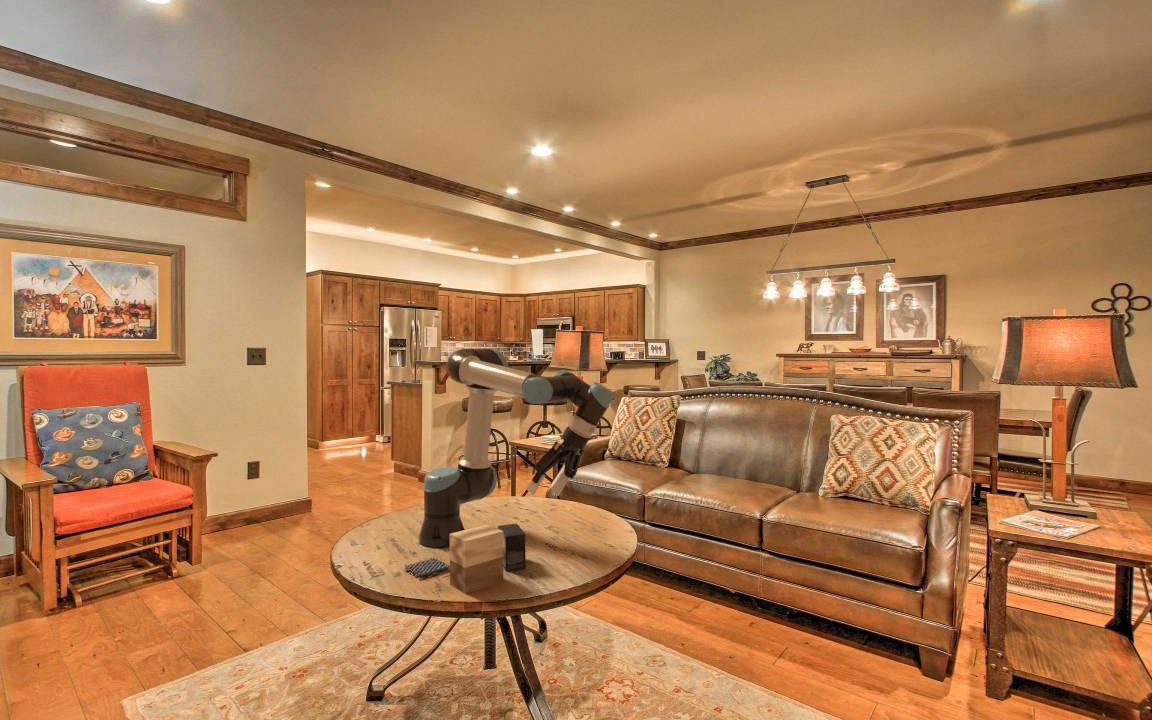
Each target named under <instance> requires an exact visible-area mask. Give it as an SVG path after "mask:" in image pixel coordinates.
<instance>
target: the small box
mask: <svg viewBox="0 0 1152 720" xmlns="http://www.w3.org/2000/svg"><path fill="white" fill-rule="evenodd" d="M497 529H499V530H501V531H503V570H505V572H512V571H517V570H525V569H526V568H527V562H526V561H527V559H526V557H527V555H526V535H527V533H525V531H524V530H523V529H522V528H521V527H520V525H519V524H518V523H511V524H502V525H497Z"/></svg>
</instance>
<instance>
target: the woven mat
mask: <svg viewBox="0 0 1152 720" xmlns="http://www.w3.org/2000/svg"><path fill="white" fill-rule="evenodd" d="M404 570H406V571H409V573H408V574H409V575H412V574H413V575H415V576H413V575H412V576H413V577H414V578H418V579H419V581H422V580H425V578H426V579H428V577H429V578H432V577H435V576H438V575H437V574H439V575H442V574H445V573H448V572H450V564H447V563H446V562H444V561H442V560H440V559H438V558H436V557H433V558H432V557H431V558H428V559H425V560H420V561H418V562H417V561H416V562H414V563H410V564H408V565H407V564H405V567H404ZM406 571H405V572H406ZM411 573H412V574H411ZM441 573H442V574H441ZM433 575H434V576H433ZM431 576H432V577H431ZM418 579H417V580H418ZM421 579H422V580H421Z"/></svg>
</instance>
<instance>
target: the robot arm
mask: <svg viewBox="0 0 1152 720" xmlns="http://www.w3.org/2000/svg"><path fill="white" fill-rule="evenodd" d="M446 372H447V374H448V376H449V377H450V379H451V380H453V381H454V382H456V383H459V384H462V385H465V387H466V389H468V390H469V394H468V406H467V415H466V426H465V427H466V428H465V435H464V436H465V438H464V447H463V457H462V458H461V459H459V460H458V465H457V467H455V466H445V467H439V468H436V469H435V468H434V469H432V470H431V471H429V472H428V473H426V474H425V476H424V480H423V481H424V482H423V483H424V484H423V498H424V501H423V503H424V504H423V505H424V506H423V507H424V508H423V512H424V514H423V516H424V517H423V518H424V519H423V521H422V523H421V527H420V530H419V534H418V543H419V544H420V545H422V546H426V547H429V548H431V547H432V548H445V547H450V534H451V533H455V532H459V531H463V530H465V527H464V523H463V522H462V521H463V520H462V518H461V509H460V508H461V505H462V504H466V503H470V502H473V501H478V500H482V499H484V498H487V497H489V496H490V495H492V493H493V492H494V490H495V488H496V487H497V483H498V482H497V480H498V479H497V474H496V470H495V468H494V467H493V466H492V462H491V460H489V449H490V439H491V431H492V430H491V429H492V421H493V410H494V399H495V394H496V392H497V391H499V392H503V393H506V394H509V395H513V396H517V397H520V398H523V399H524V400H525V401H526V402H527V403H529V404H532V405H544V404H550V403H559V402H566V401H568V402H570V403H571V404H572V405H573V406H576V407H577V409H576V411H575V413H574V415H573V416H572V418H571V419H570V421H569V423H568V426H567V427H566V428H565V430H564V432H563V433H562V435H561V439H562V440H563V441H562V442H561V443H560V442H558V441H555V442H554V444H553V445H552V446H551V448H550V449H549V450H548V451H547V452H546V453H545V454H544V455H543V456H542V457H541V459H539V460H538V461H537V463H536V464H535V465H534V467H533V468H534V470H535V471H536V472H535V473H534V475H533V477H532V479H530V482H529V483H528V486H527V488H526V491H528V492H529V493H530V494H531V495H532V496H535V493H536V492H537V490H538V489H539V487H540V486H541V483H542V482H543V480H544V479H545V477H546V475H545V474H546V473H547V472H548V471H550V470H551V469H552V468H553V467H554V466H556V464H558V463H559V462H563V461H564V468H563V472H561V474H560V475H559V477H558V478H557V481H556V482H555V484H554V485H553V487H552V488H551V492H552V493H554V495H556V496H557V497H559V496H560V494H561V493H562V491H563V489H564V488H565V486H566V484H567V482H568V481H569V479H571V480H572V479H574V477H576V475H577V472H578V468H579V465H580V461H581V458H582V456H583V454H584V452H585V450H584V448H585V447H586V446H587V444H588V442H589V441H590V440H589V438H591V437H592V435H593V433H594V432H596V429H597V428H598V427H597V426H598V424H599V423H600V421H601V420H602V418H603V417H604V415H605V414H606V412H607V410H608V409H609V408H610V406H611V405H610V404H611V403H612V401H613V399H614V397H615V393H614V392H613V391H612V390H611V389H609V388H608V387H606V386H604V385H603V384H601V383H600V382H597V381H595V382H594V381H593V382H592V384H588V382H586V381H584V380H583V379H581V378H580V377H578V376H577V375H576V374H574V373H573V372H570V371H569V370H566V369H561V370H559V371H558V372H556V373H555V374H554V375H553V376H543V375H539V374H535V373H531V372H527V371H525V370H524V371H523V370H520V369H515V368H511V367H509V363H508V359H506V357H505V355H504V354H503V352H501V351H500V350H498V349H493V348H461V349H458V350H455V351H453V352H452V354H450V356H449V358H448V360H447V362H446Z"/></svg>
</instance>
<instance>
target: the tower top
mask: <svg viewBox="0 0 1152 720" xmlns="http://www.w3.org/2000/svg"><path fill="white" fill-rule="evenodd" d="M500 557H503V531H501V530H499V529H498V527H494V526H491V525H489V524H484V525H480V526H475V527H472V528H467V529H464V530H463V531H459V532H455V533H451V534H450V546H449V561H450V560H452V561H453V562H455V563H457V564H459V565H461V566H463V567H464V568H466V567H470V566H473V565H476V564H480V563H483V562H487V561H490V560H493V559H497V558H500Z"/></svg>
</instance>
